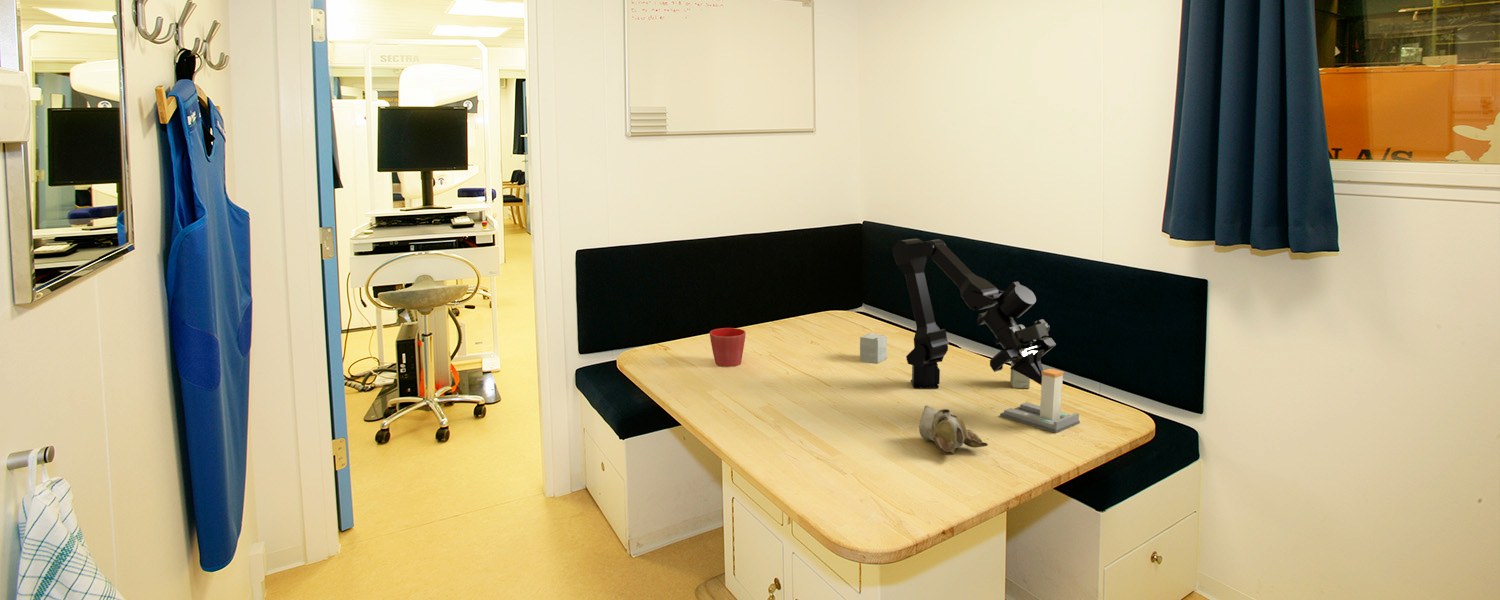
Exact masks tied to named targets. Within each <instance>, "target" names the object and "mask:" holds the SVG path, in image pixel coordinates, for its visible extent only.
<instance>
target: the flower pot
mask: <svg viewBox="0 0 1500 600" xmlns="http://www.w3.org/2000/svg"><path fill="white" fill-rule="evenodd" d="M746 334H747V332H746V330H744V329H742V328H737V327H736V328H735V327H723V328H722V327H721V328H715V329H712V330H710V331H709V337H710V339H709V340H710V343H711V350H712V355H713V360H714V364H715V365H716V366H718V367H723V368H724V367H725V368H733V367H737V366H740V365H741V363H742V360H743V354H744V348H745V342H746Z"/></svg>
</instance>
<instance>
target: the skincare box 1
mask: <svg viewBox="0 0 1500 600" xmlns="http://www.w3.org/2000/svg"><path fill="white" fill-rule="evenodd" d="M859 341H860V342H859V361H861V362H865V363H873V364H880V363H881V362H883V361H885V360H886V359H887V358H888V357H887V356H888V355H887V354H888V353H887V352H888V348H887V347H888V335H886V334H878V333H872V332H869V333H866V334H865V335H862V336H860V337H859Z"/></svg>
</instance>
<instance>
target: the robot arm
mask: <svg viewBox="0 0 1500 600" xmlns="http://www.w3.org/2000/svg"><path fill="white" fill-rule="evenodd" d="M892 254H893V257H894V260H895V263H896V266H897V267H898V268H899V270H900V271H901V272H902V273H903V274H904V276H905V279H906V280H905V281H906V285H907V289H908V293H909V299H910V303H911V308H912V312H913V316H914V321H915V324H916V325H915V326H916V330H915V334H914V337H913V345H914V346H913V347H914V348H913V349H912V350H911V351H909V352H908V354H907V355H906V357H905V358H906V362H907V364H908V365H911V379H910V384H911V386H912V387H913V389H939V387H940V386H939V385H940V380H941V379H940V377H941V369H940V368H939V363H941V362H943V361H944V360H943V359H944V357H945V355H946V354H947V352H948V350H949V344H950V341H949V340H948V336H947V331H946V329H945V328H942V329H940V327H939V326H938V325H937V324H936V320H935V319H936V318H935V315H934V310H933V305H932V301H931V297H930V293H929V289H928V284H927V279H926V275H925V268H926V264H927V262H928V258H927V257H929V258H930V259H931V260H932V261H933V262H934V263H935V264H936V265H937V266H938V267H939V268H940V269H941V270H942V271H943V272H944V274H946V276H948V278H949V279H950V280H951V281H953V283H954V284H955V285H956V286H957V287H958V289H959V293H960V297H961V298H962V300H963V301H964V302H965V304H966V306H967V307H968V308H969V309H970V310H973V311H980V310H984V309H987V310H986V311H985V312H981V313H978V318H977V321H976V325H977V326H981V325H987V327H988V329H990V331H991V332H992V334H993V335H994V336H995V340H994V344H995V345H999V344H1000V346H1002V348H1003V349H1001V350H1000V351H998V352H997V354H995V355H994V356H993V357H992V358H990V360H989V367H990V368H991V370H992V371H993V372H994V373H995V372H998V371H1002V370H1003V368H1004V365H1005V364H1006V363H1009V362H1011V361H1012V363H1013V366H1012V367H1011V366H1010V368H1009V369H1010V371H1011V370H1015V371H1017V372H1019V373H1021V374H1023V375H1025V376H1026V377H1028V378H1030V380H1032V381H1033V382H1035V383H1037V384H1038V385H1040V386H1042V375H1041V374H1042V371H1044V369H1043V365H1042V361H1041V360H1042V357H1043V356H1044V355H1046V354H1047V353H1048V352H1049V351H1050V350H1051V349H1053V348H1054V347H1056V345H1057V343H1056V342H1055V340H1053V339H1054V338H1052V337H1049V336H1050V335H1049V331H1050V328H1051V327H1050V325H1049V324H1048V322H1046V321H1045V319H1043V318H1042V319H1039V320H1036V321H1034V322H1033V325H1031V326H1028V327H1025V325H1024V324H1022V323H1021V324H1017V322H1016V320H1014V319H1015V318H1016V319H1018V318H1020V317H1021V316H1022V315H1023V314H1025V313H1026V312H1027V311H1028V310H1029V309H1030V308H1032V307H1033V305H1035V303H1036V302H1037V298H1036V297H1037V296H1036V295H1035V293H1034V292H1033V291H1032V290H1031V289H1029V287H1027V286H1024V285H1023V284H1020V282H1019V281H1013V282H1011V283H1010V284H1009V285H1008V287H1007V288H1006V289H1005V290H1000V289H998V287H996V286H995V285H994V284H992V283H991V282H990V281H988V280H987V279H985V278H983V277H981V276H978V275H977V274H975V273H974V272H972V270H970V269H969V267H967V266H966V264H965V263H964V262H963V261H961V259H960V258H959V257H958V256H957V255H956V254H955V253H954V252H953V251H952V250H951V249H950V248H949V247H948V246H947V245H946V243H945V241H944V240H942V239H939V238H938V239H933V240H932V239H931V240H927V241H923V240H921V239H919V238H910V239H902V240H898V241H897V242H896V243H895V244H894V246H893V248H892ZM1042 337H1043V338H1042Z"/></svg>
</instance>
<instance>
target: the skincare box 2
mask: <svg viewBox="0 0 1500 600" xmlns="http://www.w3.org/2000/svg"><path fill="white" fill-rule="evenodd" d="M1012 366H1013V363H1012V361H1010V368H1011V367H1012ZM1030 384H1031V379H1030V378H1028V377H1026V376H1025V375H1023V374H1021V373H1019V372H1017V371H1015V370H1011V369H1010V385H1011V386H1012V388H1017V389H1030V388H1031V387H1030Z"/></svg>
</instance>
